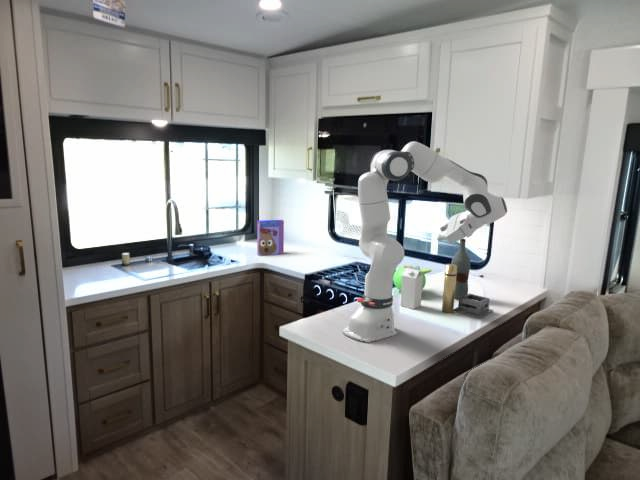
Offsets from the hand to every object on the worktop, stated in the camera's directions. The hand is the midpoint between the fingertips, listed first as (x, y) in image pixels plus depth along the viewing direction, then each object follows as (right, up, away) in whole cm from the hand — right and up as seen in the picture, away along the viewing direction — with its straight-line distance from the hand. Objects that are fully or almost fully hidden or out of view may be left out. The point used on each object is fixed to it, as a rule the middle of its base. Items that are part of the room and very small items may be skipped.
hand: (439, 234), depth 192 cm
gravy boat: (-6, -30, +36) cm, 47 cm away
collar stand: (+18, -35, +10) cm, 41 cm away
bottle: (+17, -32, +30) cm, 47 cm away
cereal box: (-87, -13, +113) cm, 143 cm away
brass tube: (+6, -35, +9) cm, 37 cm away
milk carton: (-9, -34, +16) cm, 38 cm away
